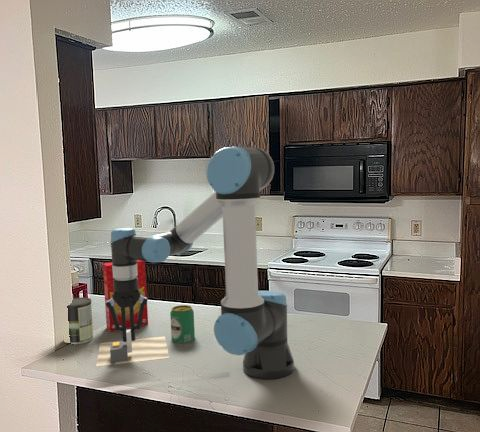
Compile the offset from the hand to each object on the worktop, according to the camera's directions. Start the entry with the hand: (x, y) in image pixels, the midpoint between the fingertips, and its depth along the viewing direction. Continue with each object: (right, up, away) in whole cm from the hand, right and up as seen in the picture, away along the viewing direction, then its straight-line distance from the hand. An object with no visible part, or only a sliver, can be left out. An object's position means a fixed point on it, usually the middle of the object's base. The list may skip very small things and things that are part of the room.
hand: (129, 350), depth 152 cm
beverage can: (+15, -1, +15) cm, 21 cm away
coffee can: (-23, -2, +21) cm, 31 cm away
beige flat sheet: (0, -2, +5) cm, 6 cm away
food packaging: (-9, 0, +34) cm, 35 cm away
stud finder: (-3, -2, -1) cm, 4 cm away
